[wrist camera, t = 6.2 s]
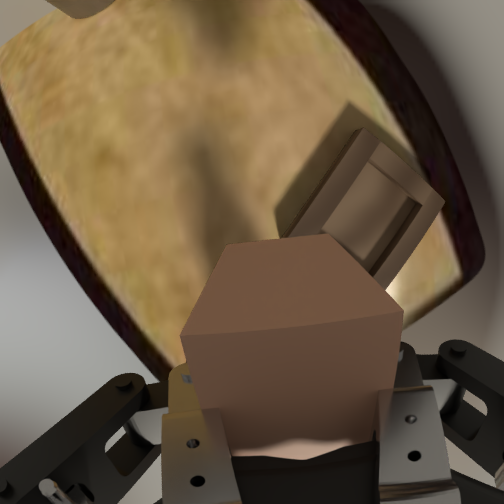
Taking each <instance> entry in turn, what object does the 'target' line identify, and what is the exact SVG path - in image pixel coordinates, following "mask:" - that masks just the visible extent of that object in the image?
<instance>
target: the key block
mask: <svg viewBox="0 0 504 504" xmlns="http://www.w3.org/2000/svg"><path fill="white" fill-rule="evenodd" d="M403 313H404V310H403V309H402V308H401V307H400V306H399V305H398V304H397V303H396V302H395V300H394V299H393V298H392V297H391V296H390V295H389V294H388V293H387V292H386V291H385V290H384V289H383V288H382V287H381V286H380V285H379V284H378V283H377V282H376V280H375V279H374V278H373V277H372V276H371V275H370V274H369V273H368V272H367V271H366V270H365V269H364V268H363V267H362V266H361V265H360V264H359V263H358V262H357V261H356V260H355V259H354V258H353V257H352V256H351V255H350V254H349V253H348V252H347V251H346V250H345V249H344V248H343V247H342V246H341V245H340V244H339V243H338V242H337V241H336V240H335V239H334V238H333V237H332V236H331V235H330V234H318V235H309V236H299V237H290V238H281V239H272V240H262V241H253V242H244V243H236V244H227V245H226V247H225V249H224V251H223V253H222V255H221V256H220V258H219V260H218V262H217V264H216V266H215V268H214V270H213V272H212V274H211V276H210V277H209V279H208V281H207V283H206V285H205V287H204V289H203V291H202V293H201V295H200V297H199V299H198V301H197V303H196V305H195V307H194V308H193V310H192V312H191V314H190V316H189V318H188V320H187V322H186V324H185V326H184V328H183V330H182V332H181V334H180V338H181V342H182V346H183V350H184V353H185V357H186V361H187V364H188V368H189V371H190V375H191V378H192V382H193V385H194V388H195V392H196V395H197V398H198V401H199V404H200V408H201V409H208V408H219V409H220V413H221V417H222V421H223V424H224V428H225V431H226V435H227V439H228V442H229V446H230V449H231V452H232V456H260V455H264V456H272V457H280V458H289V459H299V460H305V459H310V458H313V457H316V456H319V455H322V454H325V453H327V452H330V451H333V450H336V449H338V448H341V447H344V446H348V445H354V444H359V443H364V442H368V441H369V437H370V433H371V428H372V423H373V418H374V413H375V407H376V402H377V396H378V390H383V389H391V388H393V387H394V382H395V376H396V370H397V363H398V357H399V349H400V342H401V333H402V324H403Z"/></svg>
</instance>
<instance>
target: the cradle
mask: <svg viewBox="0 0 504 504" xmlns="http://www.w3.org/2000/svg"><path fill="white" fill-rule="evenodd" d="M444 203H445V201H444V200H443V199H442V198H441V197H440V195H439V194H438V193H437V192H436V191H435V190H434V189H433V188H432V187H431V186H430V185H429V184H428V183H427V182H426V181H425V180H423V179H422V178H421V177H420V176H419V175H418V174H417V173H416V172H415V171H414V170H413V169H412V168H411V167H410V166H409V165H408V164H406V163H405V162H404V161H403V160H402V159H401V158H400V157H399V156H397V155H396V154H395V153H394V152H393V151H392V150H391V149H389V148H388V147H387V146H386V145H385V144H384V143H382V142H381V141H380V140H379V139H378V138H376V137H375V136H374V135H373V134H371V133H370V132H369V131H368V130H366V129H365V128H364V127H363V128H361V129H358V130H356V131H355V132H354V133H353V135H352V136H351V138H350V139H349V141H348V142H347V144H346V145H345V147H344V148H343V150H342V151H341V153H340V154H339V156H338V157H337V158H336V160H335V161H334V163H333V164H332V166H331V167H330V169H329V170H328V172H327V173H326V175H325V176H324V177H323V179H322V180H321V182H320V183H319V185H318V186H317V188H316V189H315V191H314V192H313V193H312V195H311V196H310V198H309V199H308V201H307V202H306V204H305V205H304V206H303V208H302V209H301V211H300V212H299V214H298V215H297V216H296V218H295V219H294V221H293V222H292V224H291V225H290V226H289V228H288V229H287V231H286V232H285V234H284V235H283V236H282V238H290V237H299V236H309V235H318V234H330V235H331V236H332V237H333V238H334V239H335V240H336V241H337V242H338V243H339V244H340V245H341V246H342V247H343V248H344V249H345V250H346V251H347V252H348V253H349V254H350V255H351V256H352V257H353V258H354V259H355V260H356V261H357V262H358V263H359V264H360V265H361V266H362V267H363V268H364V269H365V270H366V271H367V272H368V273H369V274H370V275H371V276H372V277H373V278H374V279H375V280H376V282H377V283H378V284H379V285H380V286H381V287H382V288H383V289H384V290H386V288H387V287H388V286H389V284H390V283H391V282H392V280H393V279H394V278H395V276H396V275H397V274H398V272H399V271H400V270H401V268H402V267H403V265H404V264H405V263H406V261H407V260H408V258H409V257H410V256H411V254H412V253H413V251H414V250H415V248H416V247H417V245H418V244H419V242H420V241H421V239H422V238H423V236H424V235H425V233H426V232H427V230H428V229H429V227H430V226H431V224H432V222H433V221H434V219H435V218H436V216H437V215H438V213H439V211H440V210H441V208H442V206H443V205H444Z"/></svg>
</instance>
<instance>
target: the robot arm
mask: <svg viewBox="0 0 504 504" xmlns="http://www.w3.org/2000/svg"><path fill="white" fill-rule="evenodd" d="M46 1H47V2H49V3H51V4H52V5H53V6H55V7H56V8H58V9H60V10H61V11H63V12H64V13H66V14H67V15H69V16H70V17H72V18H75V19H81V18H86V17H89V16H92V15H94V14H96V13H98V12H100V11H102V10H103V9H105V8H106V7H108V6H109V5H110V4H111V3H112V2H114V1H115V0H46ZM466 390H468V391H469V392H471V393H472V394H474V395H475V396H477V397H478V398H480V399H481V400H482V401H484V402H485V404H486V406H487V415H486V416H485V415H484V414H483V413H481V412H480V411H479V410H477V409H476V408H474V407H473V406H472V405H470V404H469V403H467V402H466V401H465V400H463V397H464V394H465V391H466ZM122 426H123V427H124V429H125V431H126V433H125V434H124V435H123V436H122V437H121V438H120V439H119V440H118V441H117V442H116V443H115V444H114V445H113V446H112V447H111V448H110V449H109V450H108V451H107V452H106V453H105V445H106V442H107V441H108V440H109V439H110V438H111V437H112V436H113V435H114V434H115V433H116V432H117V431H118V430H119V429H120V428H121V427H122ZM444 436H445V437H446V438H448V439H449V440H450V441H451V442H452V443H454V444H455V445H456V446H457V447H458V448H459V449H461V450H462V451H463V452H464V453H465V454H467V455H468V456H469V457H470V458H472V459H473V460H474V461H475V462H476V463H477V464H478V465H480V466H481V467H482V468H483V469H484V470H486V471H487V472H488V473H489V474H491V475H492V476H493V477H494V478H495V484H496V488H495V487H493V486H490V485H487V484H485V483H482V482H480V481H478V480H475V479H473V478H470V477H468V476H466V475H464V474H461V473H459V472H457V471H455V470H452V469H450V465H449V459H448V453H447V448H446V442H445V437H444ZM160 454H161V465H162V498H161V499H160V500H158V501H157V502H155V503H154V504H504V362H503V361H501V360H500V359H498V358H496V357H494V356H492V355H491V354H489V353H487V352H485V351H483V350H482V349H480V348H478V347H476V346H474V345H473V344H471V343H468V342H466V341H463V340H449V341H446V342H444V343H442V344H441V345H440V347H439V351H438V354H435V355H434V354H433V355H419V354H416V353H415V350H414V348H413V347H412V346H411V345H409V344H407V343H405V342H400V349H399V357H398V363H397V370H396V376H395V382H394V387H393V388H391V389H383V390H378V396H377V402H376V407H375V413H374V418H373V423H372V428H371V433H370V437H369V441H368V442H364V443H359V444H354V445H348V446H344V447H341V448H338V449H336V450H333V451H330V452H327V453H325V454H322V455H319V456H316V457H313V458H310V459H305V460H299V459H289V458H280V457H272V456H264V455H260V456H232V452H231V449H230V446H229V442H228V439H227V435H226V431H225V428H224V424H223V421H222V417H221V413H220V409H219V408H208V409H201V408H200V404H199V401H198V398H197V395H196V392H195V388H194V385H193V382H192V378H191V375H190V371H189V368H188V364H187V361H186V363H184V364H181V365H179V366H177V367H175V368H174V369H173V370H172V371H171V372H170V374H169V380H167V381H163V382H159V383H153V384H148V385H146V383H145V380H144V378H143V377H142V376H141V375H139V374H136V373H125V374H121V375H118V376H115V377H114V378H112V379H111V380H109V381H108V382H107V383H106V384H104V385H103V386H102V387H101V388H100V389H99V390H97V391H96V392H95V393H94V394H92V395H91V396H90V397H89V398H87V399H86V400H85V401H84V402H82V403H81V404H80V405H79V406H78V407H76V408H75V409H74V410H73V411H71V412H70V413H69V414H68V415H67V416H65V417H64V418H63V419H61V420H60V421H59V422H58V423H57V424H55V425H54V426H53V427H52V428H50V429H49V430H48V431H47V432H45V433H44V434H43V435H42V436H41V437H39V438H38V439H37V440H35V441H34V442H33V443H32V444H30V445H29V446H28V447H27V448H25V449H24V450H23V451H22V452H20V453H19V454H18V455H17V456H15V457H14V458H13V459H12V460H10V461H9V462H8V463H7V464H5V465H4V466H3V467H1V468H0V504H117V503H118V502H119V501H120V500H121V499H122V498H123V497H124V496H125V494H126V493H127V492H128V491H129V490H130V489H131V488H132V486H133V485H134V484H135V483H136V482H137V481H138V479H140V477H141V476H142V475H143V474H144V473H145V472H146V470H147V469H148V468H149V467H150V466H151V465H152V463H153V462H154V461H155V460H156V459H157V457H158V456H159V455H160Z"/></svg>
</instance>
